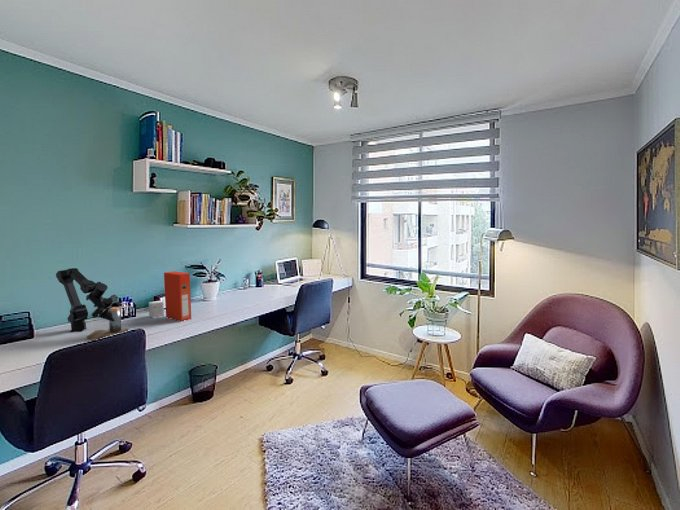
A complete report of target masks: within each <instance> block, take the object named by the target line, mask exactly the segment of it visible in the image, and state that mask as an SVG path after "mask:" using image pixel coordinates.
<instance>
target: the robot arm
mask: <svg viewBox="0 0 680 510" xmlns="http://www.w3.org/2000/svg"><path fill="white" fill-rule="evenodd" d="M55 277H56V279H57V281H58V282H59V283H61V284H62V285H63V288H64V290H65V293H66V295H67V299H68V301H69V304H70V309H69V315H68V317H67V322H69V323H70V330H69V332H70V333H73V331H77V332H83V331H84V329H85V330H86V329H87V322H86V321H85V320H88V317H89V311H88V309H87V306H86V304H82V303H81V301H80V298H79V295H78V291H77V289H76V286H75V285H74V281H75V282H76V283H77V284H78V285H79V287H80V290H81V292H82V294H87V295H86V296H85V297H86V298H85V300H86V301H90V302H91V303H93V307H94V308H95V310H94V311H93V312H92V313H91V317H92V318H93V319H96V318H99V319H103V320H107V321H109V320H110V321H114V319H113V317H112V316H111V315H110V314H109V309H110V308H112V307H120V306H121V305H122V303H121V301H120V300H119V297H118V295H116V294H115V293H114V294H112V295H111V296H110V297H108V298H107V297H104V296H103V295H104V294H105V293H106V291H107V290H108V289H109V288H108V285H107V284H105V283H102V282H101V281H97V282H95V281H93V280H90V279H88V278H87V277H85V276H84V274H82V273H81V272H80V271H79V268H77V267H71V268H67V269H61V270H58V271H57V272H56V273H55Z"/></svg>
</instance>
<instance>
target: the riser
mask: <svg viewBox="0 0 680 510" xmlns="http://www.w3.org/2000/svg"><path fill="white" fill-rule="evenodd" d="M128 330H130V329H129V328H122V330H121V331H118V332H110V329H97V330H94V331H92V332H91V333H89V334H88V335H87V336H86V339H89V340H99V339H98V338H103V337H106V336H110V335H114V334H117V333H122V332H125V331H128Z"/></svg>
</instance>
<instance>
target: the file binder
mask: <svg viewBox="0 0 680 510" xmlns="http://www.w3.org/2000/svg"><path fill="white" fill-rule="evenodd" d="M190 278H191V275H190V272H189V273H188V272H182V271H175V270H174V271H173V270H172V271H167V272H163V279H164V280H163V281H164V299H165V300H164V302H165V318H166V317H168V318H167V319H169V318H172V319H171V320H173V319H176V320H175V321H177V320H180V321H179V322H181V321H182V322H185V321H184V320H186V321H189V320H188V319H190V320H192V305H191V304H192V301H191V279H190Z"/></svg>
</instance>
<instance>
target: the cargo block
mask: <svg viewBox="0 0 680 510" xmlns="http://www.w3.org/2000/svg"><path fill="white" fill-rule="evenodd" d="M119 310H121V307H120V306H119V307H112V308H110V309H109V310H108V312H109V311H110V312H114V311H119Z"/></svg>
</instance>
